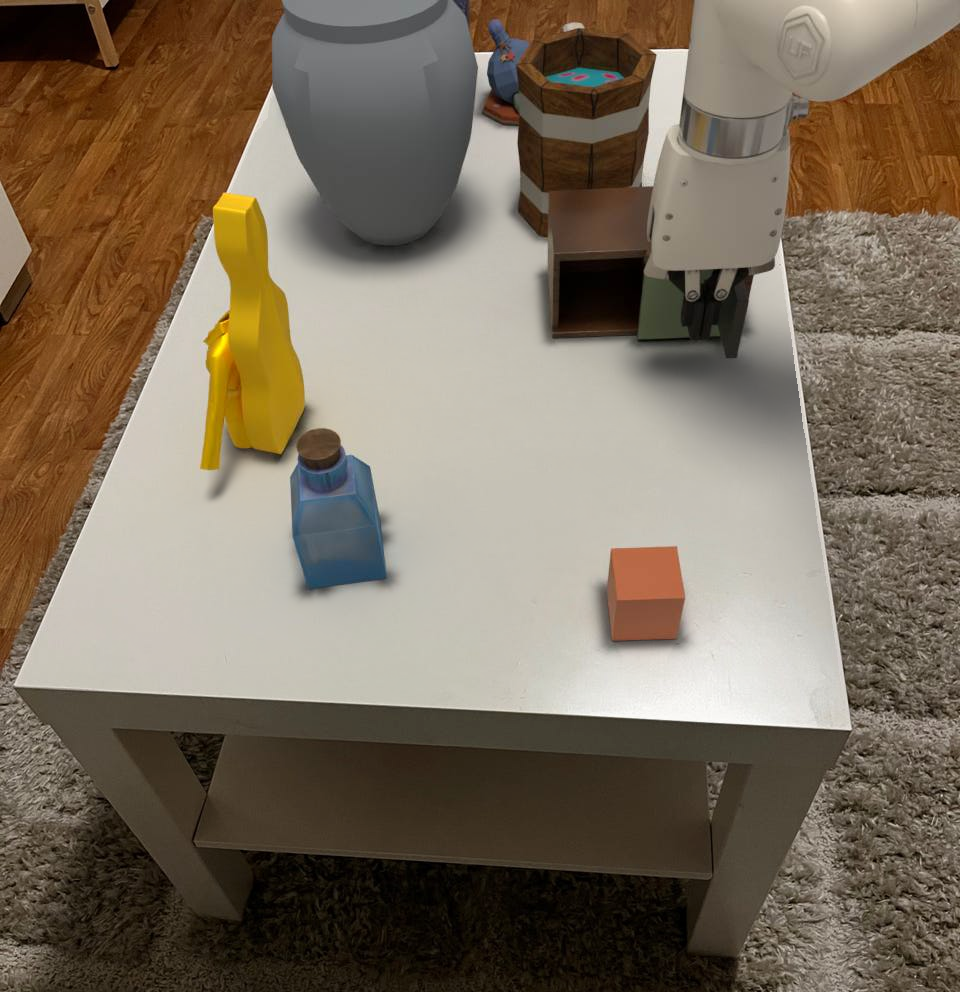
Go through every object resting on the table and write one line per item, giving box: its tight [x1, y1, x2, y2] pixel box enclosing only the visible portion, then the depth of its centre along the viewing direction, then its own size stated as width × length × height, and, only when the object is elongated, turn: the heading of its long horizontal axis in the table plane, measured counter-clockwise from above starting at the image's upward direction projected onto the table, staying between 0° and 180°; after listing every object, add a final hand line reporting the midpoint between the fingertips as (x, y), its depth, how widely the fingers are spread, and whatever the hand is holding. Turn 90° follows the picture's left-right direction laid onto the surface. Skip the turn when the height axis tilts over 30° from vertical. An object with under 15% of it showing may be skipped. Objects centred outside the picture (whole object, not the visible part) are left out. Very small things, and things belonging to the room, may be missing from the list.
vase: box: [271, 0, 479, 246], centre depth 95 cm, size 20×20×24 cm
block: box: [606, 545, 686, 642], centre depth 71 cm, size 5×5×5 cm
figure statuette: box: [199, 192, 306, 471], centre depth 78 cm, size 18×8×22 cm, turn 166°
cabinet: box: [546, 185, 755, 339], centre depth 91 cm, size 18×10×9 cm, turn 90°
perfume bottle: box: [289, 427, 388, 590], centre depth 73 cm, size 6×6×12 cm
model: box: [481, 18, 531, 127], centre depth 114 cm, size 12×9×9 cm
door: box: [636, 269, 750, 360], centre depth 86 cm, size 9×7×9 cm
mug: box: [516, 21, 657, 238], centre depth 101 cm, size 20×14×15 cm
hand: (697, 330), depth 85 cm, fingers closed
